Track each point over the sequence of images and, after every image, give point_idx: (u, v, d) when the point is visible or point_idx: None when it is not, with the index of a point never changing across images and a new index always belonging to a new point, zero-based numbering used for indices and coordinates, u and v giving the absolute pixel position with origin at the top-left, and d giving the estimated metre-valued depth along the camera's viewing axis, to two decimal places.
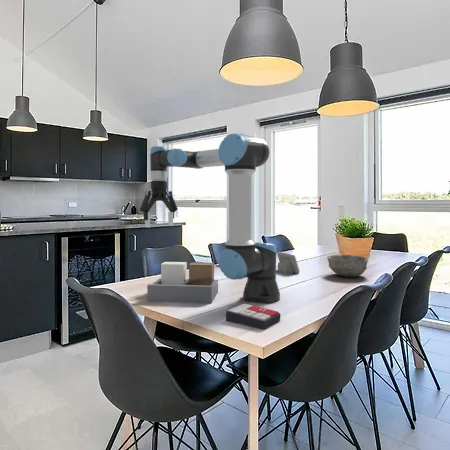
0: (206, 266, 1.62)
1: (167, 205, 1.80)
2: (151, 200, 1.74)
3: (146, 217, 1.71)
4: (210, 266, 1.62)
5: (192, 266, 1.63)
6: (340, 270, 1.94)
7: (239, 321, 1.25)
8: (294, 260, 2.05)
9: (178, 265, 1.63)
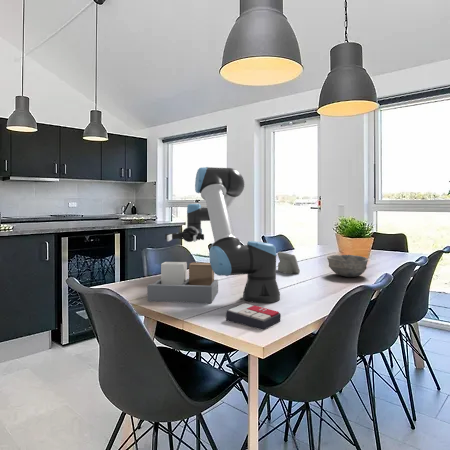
0: (206, 266, 1.62)
1: None
2: None
3: None
4: (210, 266, 1.62)
5: (192, 266, 1.63)
6: (340, 270, 1.94)
7: (239, 321, 1.25)
8: (294, 260, 2.05)
9: (178, 265, 1.63)
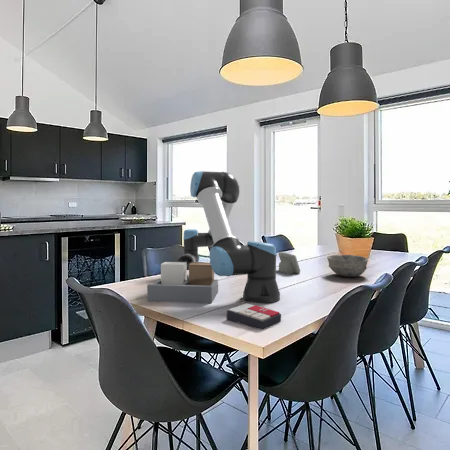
0: (206, 266, 1.62)
1: None
2: None
3: None
4: (210, 266, 1.62)
5: (192, 266, 1.63)
6: (340, 270, 1.94)
7: (239, 320, 1.25)
8: (295, 260, 2.05)
9: (178, 265, 1.63)
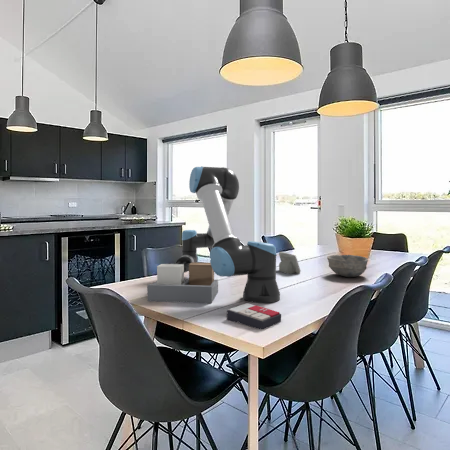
0: (206, 266, 1.62)
1: None
2: None
3: None
4: (210, 266, 1.62)
5: (192, 266, 1.63)
6: (340, 270, 1.94)
7: (239, 320, 1.25)
8: (295, 260, 2.05)
9: (175, 267, 1.58)
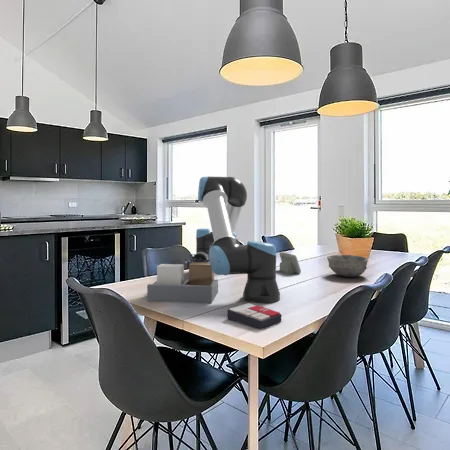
0: (206, 266, 1.62)
1: None
2: None
3: None
4: (210, 266, 1.62)
5: (192, 266, 1.63)
6: (340, 270, 1.94)
7: (239, 320, 1.26)
8: (295, 260, 2.05)
9: (175, 267, 1.58)
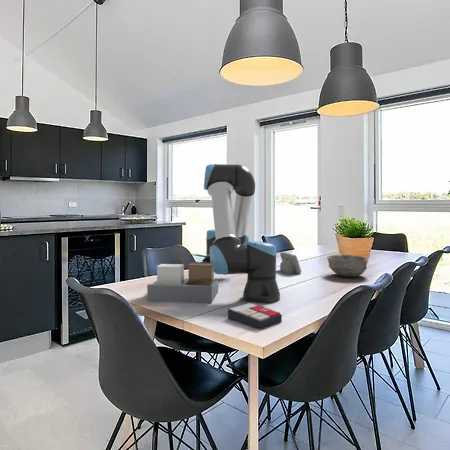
0: (206, 266, 1.61)
1: None
2: None
3: None
4: (210, 266, 1.61)
5: (192, 266, 1.62)
6: (340, 270, 1.94)
7: (239, 320, 1.26)
8: (295, 260, 2.05)
9: (175, 267, 1.58)
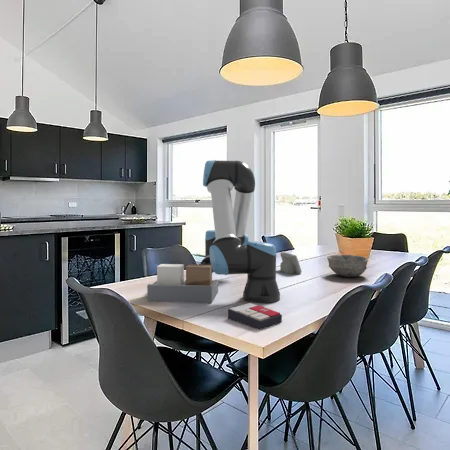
0: (204, 268, 1.56)
1: None
2: None
3: None
4: (208, 268, 1.56)
5: (189, 268, 1.57)
6: (340, 270, 1.94)
7: (239, 320, 1.26)
8: (296, 260, 2.05)
9: (175, 267, 1.58)
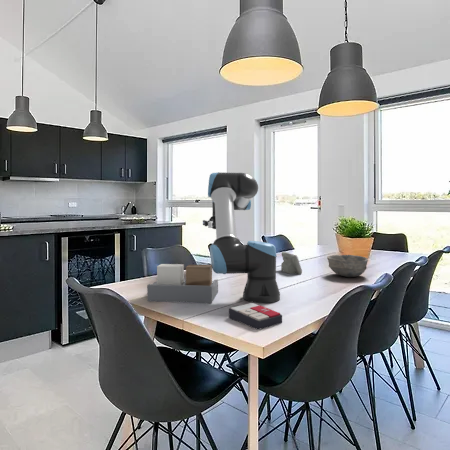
0: (204, 269, 1.56)
1: None
2: None
3: (208, 222, 1.92)
4: (208, 269, 1.56)
5: (189, 269, 1.57)
6: (340, 270, 1.94)
7: (239, 319, 1.26)
8: (296, 260, 2.05)
9: (175, 267, 1.58)
